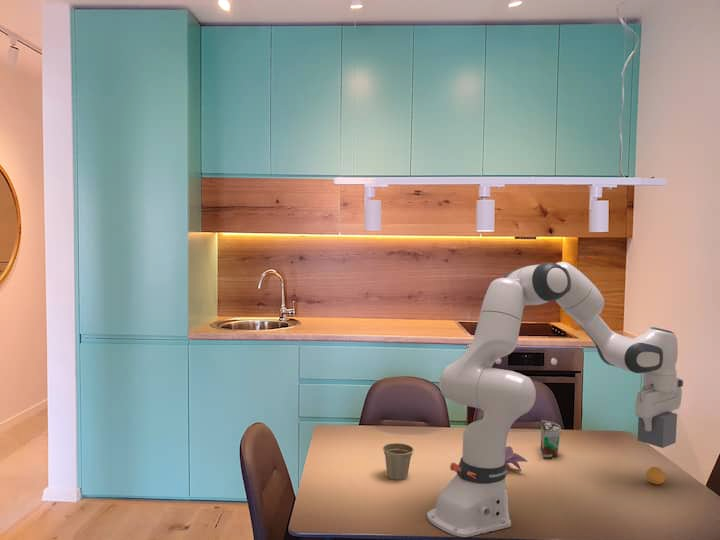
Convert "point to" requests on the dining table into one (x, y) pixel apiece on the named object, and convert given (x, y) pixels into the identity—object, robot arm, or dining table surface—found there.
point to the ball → (655, 475)
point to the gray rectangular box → (659, 430)
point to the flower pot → (397, 460)
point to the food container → (550, 439)
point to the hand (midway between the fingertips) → (656, 427)
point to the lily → (513, 457)
